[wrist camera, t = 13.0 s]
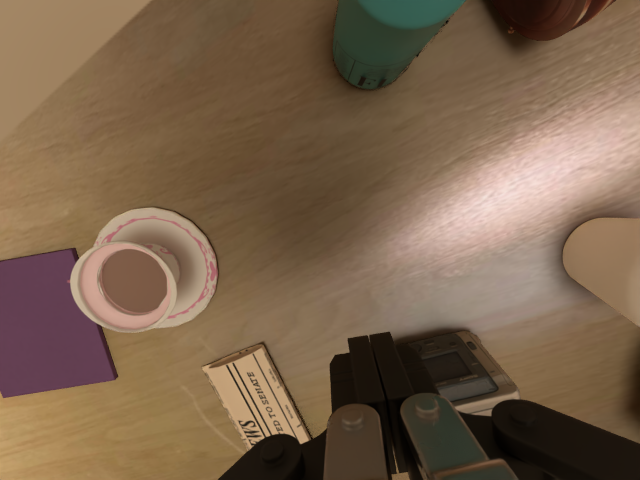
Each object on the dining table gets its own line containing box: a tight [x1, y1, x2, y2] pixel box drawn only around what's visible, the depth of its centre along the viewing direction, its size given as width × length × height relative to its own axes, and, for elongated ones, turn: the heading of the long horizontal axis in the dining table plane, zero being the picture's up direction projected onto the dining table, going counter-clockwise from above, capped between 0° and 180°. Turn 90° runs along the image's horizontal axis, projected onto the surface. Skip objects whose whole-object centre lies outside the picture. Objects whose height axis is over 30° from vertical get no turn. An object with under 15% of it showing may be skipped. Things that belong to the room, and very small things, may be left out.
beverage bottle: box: [333, 0, 466, 90], centre depth 21 cm, size 6×7×20 cm
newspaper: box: [202, 345, 311, 451], centre depth 38 cm, size 24×7×2 cm, turn 23°
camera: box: [393, 331, 521, 453], centre depth 32 cm, size 11×6×10 cm, turn 103°
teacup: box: [67, 207, 218, 333], centre depth 32 cm, size 12×12×6 cm
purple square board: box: [0, 248, 118, 398], centre depth 36 cm, size 14×12×1 cm
